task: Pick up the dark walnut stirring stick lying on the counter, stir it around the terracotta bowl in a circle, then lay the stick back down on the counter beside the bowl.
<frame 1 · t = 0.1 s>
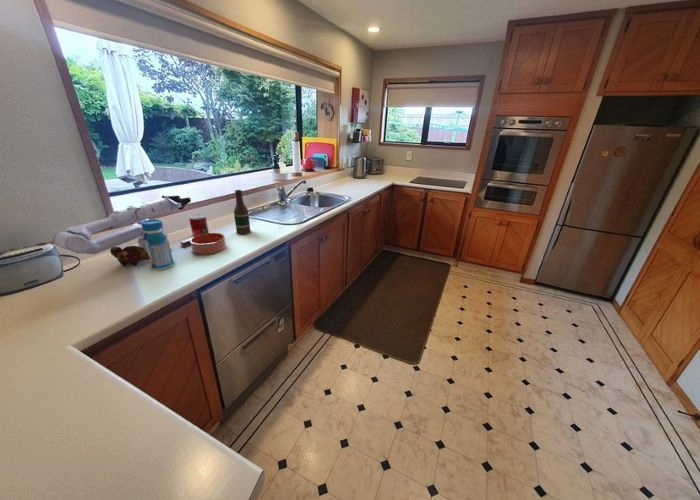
hand: (184, 198, 140), 22 cm above the counter, tool horizontal, fingers open, 7 cm apart
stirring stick: (191, 243, 142), on the counter
decorative turtle: (134, 263, 122), on the counter
canned food: (201, 236, 153), on the counter
bowl: (209, 248, 138), on the counter
beer bottle: (243, 232, 159), on the counter
beverage bottle: (163, 266, 120), on the counter
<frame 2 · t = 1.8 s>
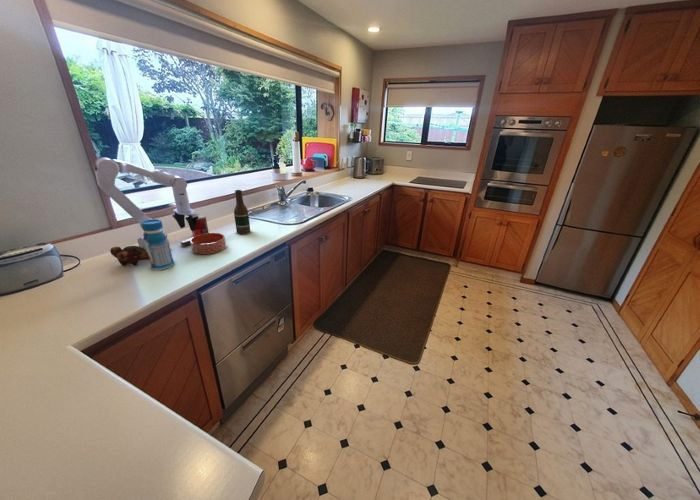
hand: (188, 228, 139), 8 cm above the counter, tool pointing down, fingers open, 7 cm apart
nothing on the counter moved.
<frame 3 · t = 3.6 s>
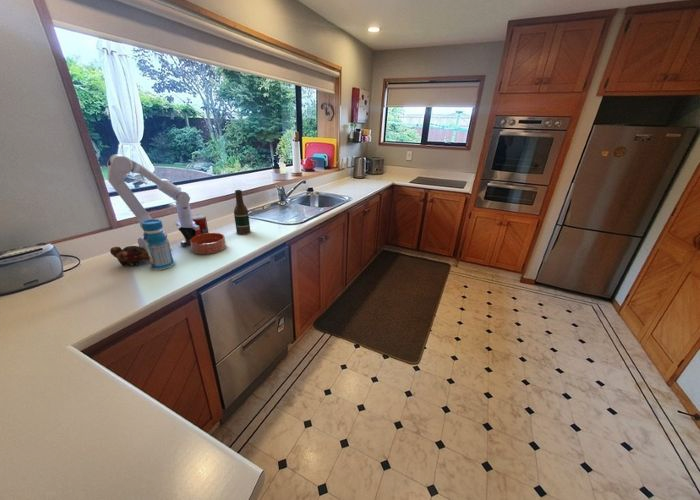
hand: (190, 241, 142), 1 cm above the counter, tool pointing down, fingers closed on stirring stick, 2 cm apart
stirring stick: (191, 243, 142), on the counter, touching gripper
everything else where it was.
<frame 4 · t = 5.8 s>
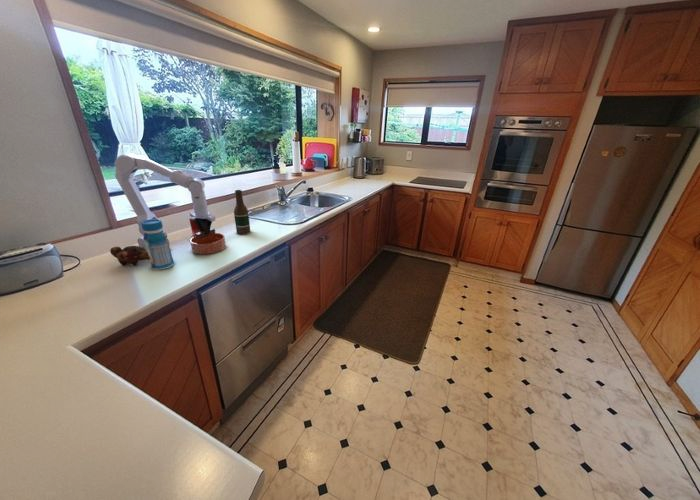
hand: (205, 233, 135), 8 cm above the counter, tool pointing down, fingers closed on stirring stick, 2 cm apart
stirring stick: (206, 235, 135), point 7 cm above the counter, touching gripper
everything else where it was.
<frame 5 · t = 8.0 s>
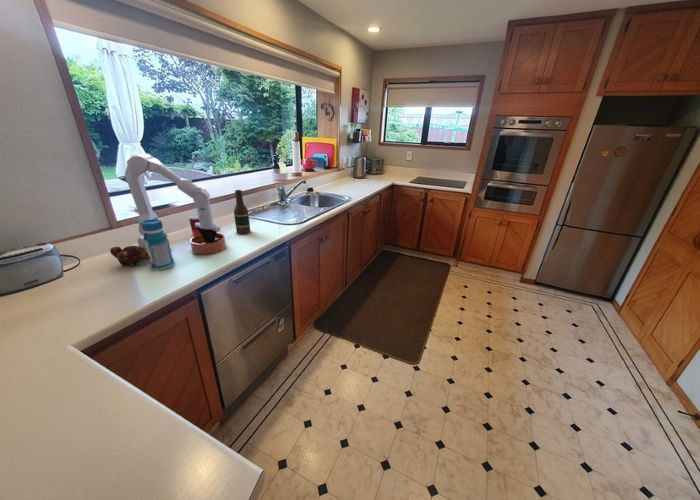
hand: (210, 243, 137), 3 cm above the counter, tool pointing down, fingers closed on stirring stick, 2 cm apart
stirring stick: (210, 245, 137), point 1 cm above the counter, touching gripper
everything else where it was.
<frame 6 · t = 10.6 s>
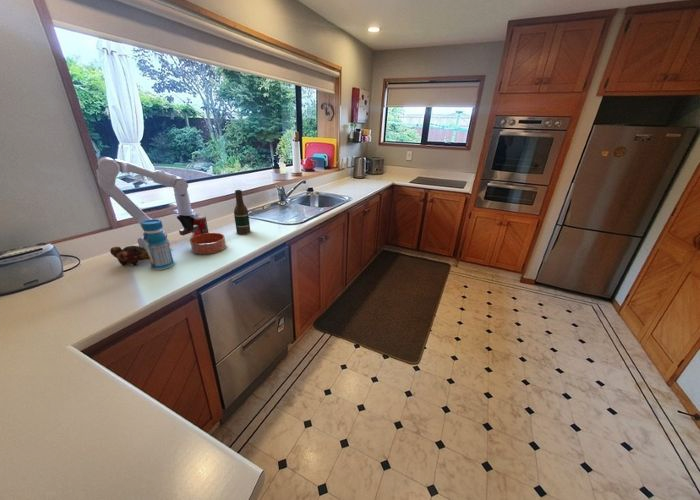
hand: (189, 229, 139), 8 cm above the counter, tool pointing down, fingers closed on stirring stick, 2 cm apart
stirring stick: (189, 232, 140), point 6 cm above the counter, touching gripper
everything else where it was.
when the fingers open (1 cm above the counter, at t = 12.3 s): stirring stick stays where it is, on the counter.
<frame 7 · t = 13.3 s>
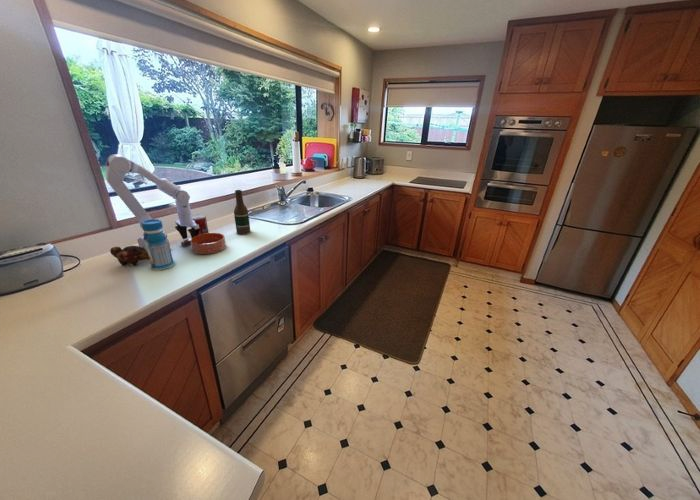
hand: (190, 240, 142), 2 cm above the counter, tool pointing down, fingers open, 7 cm apart
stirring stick: (191, 243, 142), on the counter
everything else where it was.
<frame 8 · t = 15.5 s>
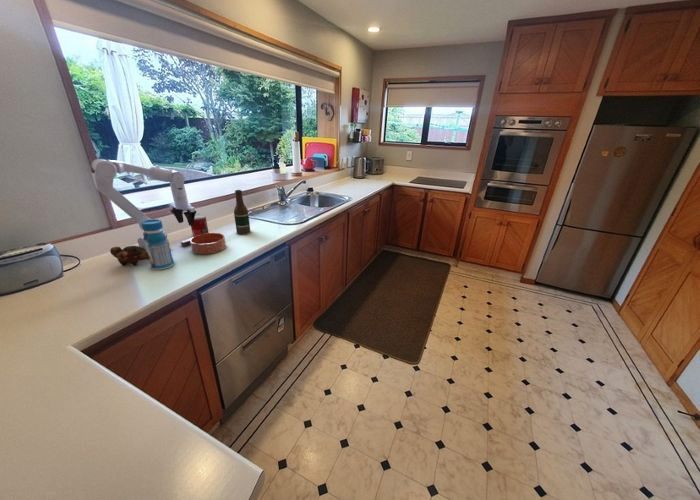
hand: (186, 223, 139), 10 cm above the counter, tool pointing down, fingers open, 7 cm apart
nothing on the counter moved.
at the end: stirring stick inside the target area (0.1 cm from its centre), on the counter; the gripper is holding nothing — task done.
